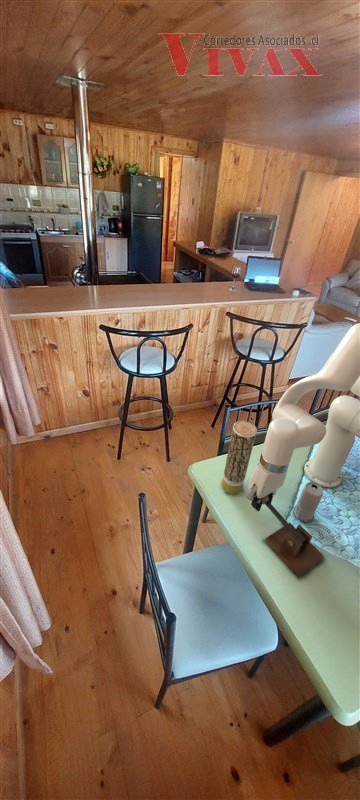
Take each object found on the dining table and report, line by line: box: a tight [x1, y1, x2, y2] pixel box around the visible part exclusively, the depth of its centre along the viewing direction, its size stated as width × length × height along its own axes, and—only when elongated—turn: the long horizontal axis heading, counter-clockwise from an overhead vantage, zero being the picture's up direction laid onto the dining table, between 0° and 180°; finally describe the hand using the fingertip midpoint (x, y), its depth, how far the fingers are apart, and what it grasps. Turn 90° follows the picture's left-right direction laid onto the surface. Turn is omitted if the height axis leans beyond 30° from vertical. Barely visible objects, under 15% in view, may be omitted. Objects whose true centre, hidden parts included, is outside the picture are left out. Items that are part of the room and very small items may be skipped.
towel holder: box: [264, 522, 325, 579], centre depth 89 cm, size 12×10×7 cm
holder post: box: [257, 495, 306, 543], centre depth 93 cm, size 17×4×4 cm, turn 34°
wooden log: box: [221, 420, 258, 495], centre depth 102 cm, size 7×7×25 cm
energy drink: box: [294, 481, 324, 523], centre depth 98 cm, size 5×5×12 cm
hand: (260, 504), depth 98 cm, fingers closed on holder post, 3 cm apart
